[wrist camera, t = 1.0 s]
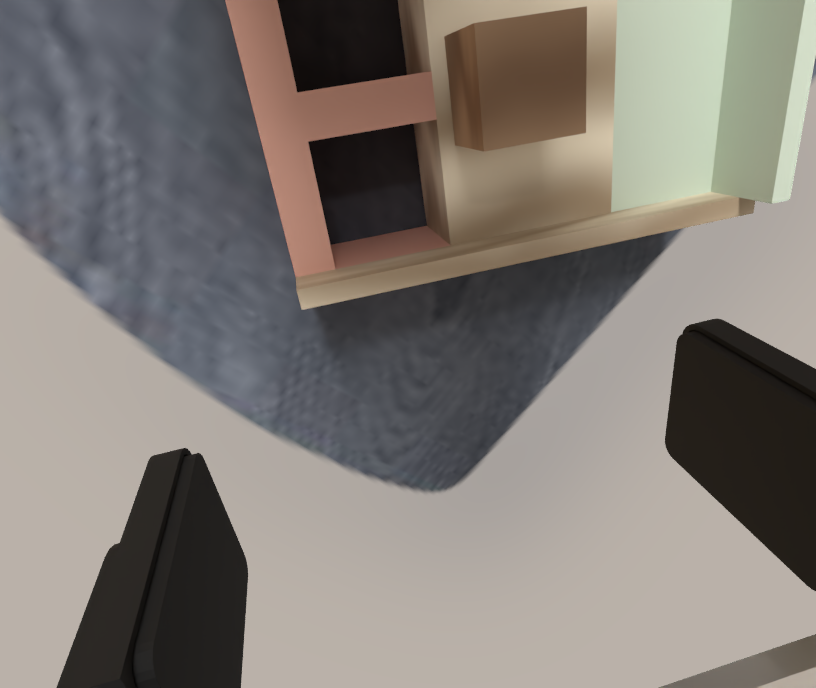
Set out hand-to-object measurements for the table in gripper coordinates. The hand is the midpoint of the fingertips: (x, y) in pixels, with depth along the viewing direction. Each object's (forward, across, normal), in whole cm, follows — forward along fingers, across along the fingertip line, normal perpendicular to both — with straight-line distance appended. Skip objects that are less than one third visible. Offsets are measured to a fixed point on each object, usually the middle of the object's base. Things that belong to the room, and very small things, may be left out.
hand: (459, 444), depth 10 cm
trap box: (+22, -9, -5) cm, 25 cm away
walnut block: (+18, -8, -5) cm, 20 cm away
